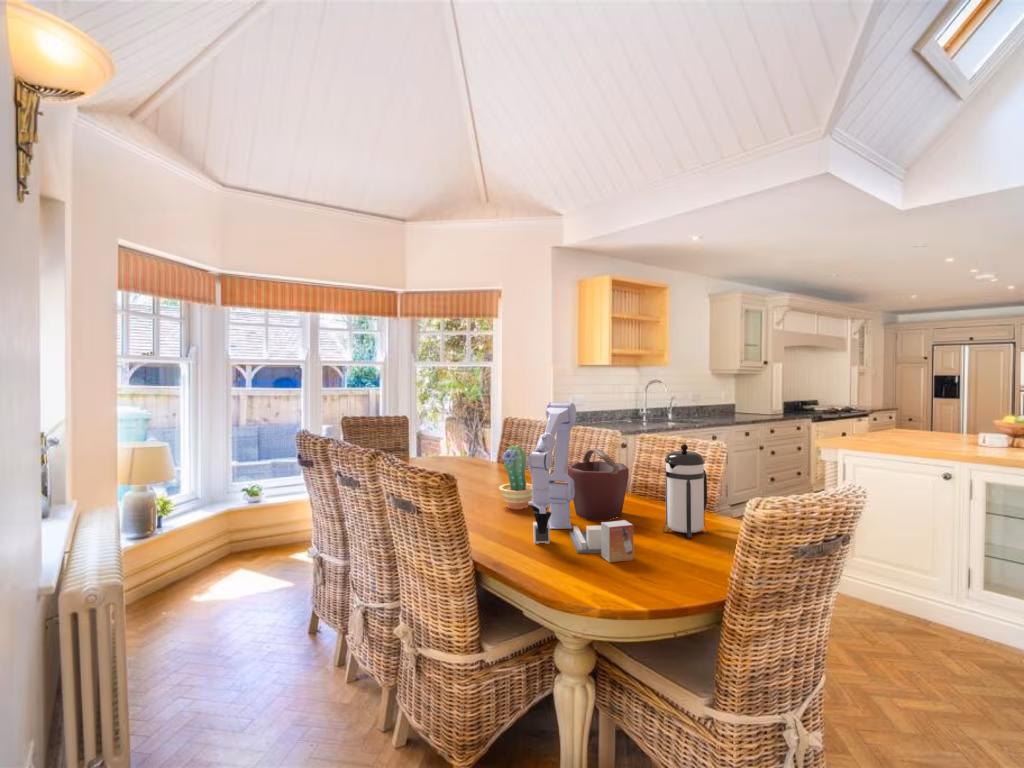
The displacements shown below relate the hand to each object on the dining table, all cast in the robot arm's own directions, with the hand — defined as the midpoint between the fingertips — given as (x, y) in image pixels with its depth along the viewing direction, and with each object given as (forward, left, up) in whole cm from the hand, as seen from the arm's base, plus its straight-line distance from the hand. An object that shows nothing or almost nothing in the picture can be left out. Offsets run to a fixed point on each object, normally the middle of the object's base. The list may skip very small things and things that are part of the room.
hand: (541, 529), depth 172 cm
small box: (+17, +21, -4) cm, 27 cm away
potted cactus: (-44, -6, -4) cm, 45 cm away
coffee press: (-6, +50, -4) cm, 51 cm away
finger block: (0, 0, -4) cm, 4 cm away
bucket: (-29, +24, -4) cm, 38 cm away
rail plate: (+3, +16, -4) cm, 17 cm away
